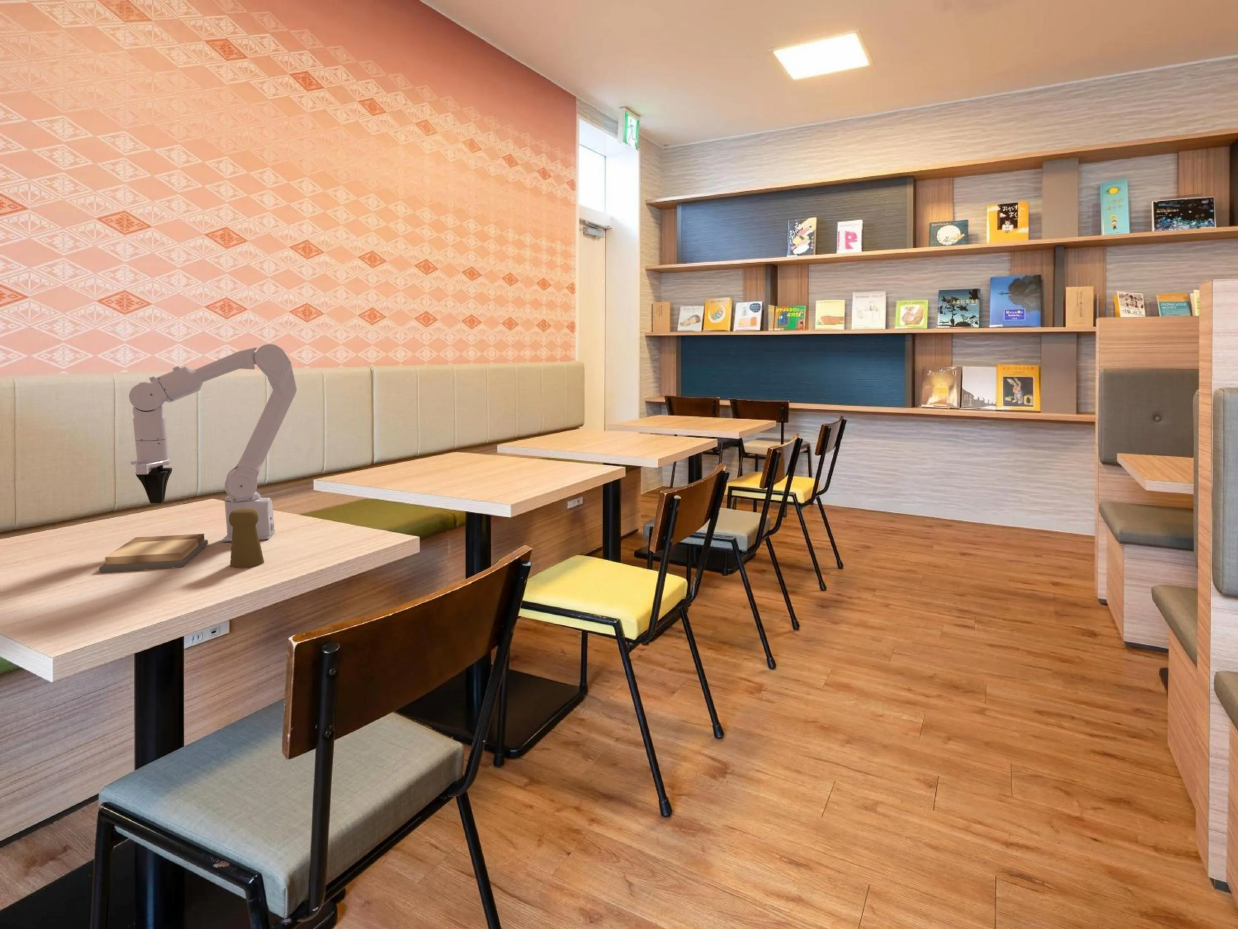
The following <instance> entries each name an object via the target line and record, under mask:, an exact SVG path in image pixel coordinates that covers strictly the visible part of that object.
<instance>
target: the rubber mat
mask: <svg viewBox="0 0 1238 929" xmlns="http://www.w3.org/2000/svg"><path fill="white" fill-rule="evenodd" d="M208 545H209V539H205V540H204V541H203V542H202V543H201V544H200V545H199V546H197V547H196V548H195V549H194V550H193V551H192V552H191V553H189V554H188V555H187V556H186V557H185V558H184V559H183V560H175V561H159V562H143V563H128V564H112V565H106V563H104V564H102V565H101V566H99V567H98V570H99V573H100V572H103V573H113V571H118V572H125V571H124V570H133V571H144V570H143V569H148V570H158V569H157V568H163V569H173V568H172V567H178V568H183V567H185V566H186V565H187V564H188V563H189V562H191V561H192V559H193V558H195V557H196V556H197V555H198V554H199V553H200V552H201V551H202V550H204V548H206V547H207V546H208ZM205 546H206V547H205ZM195 555H196V556H195ZM194 556H195V557H194ZM185 564H186V565H185ZM184 565H185V566H184Z"/></svg>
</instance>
